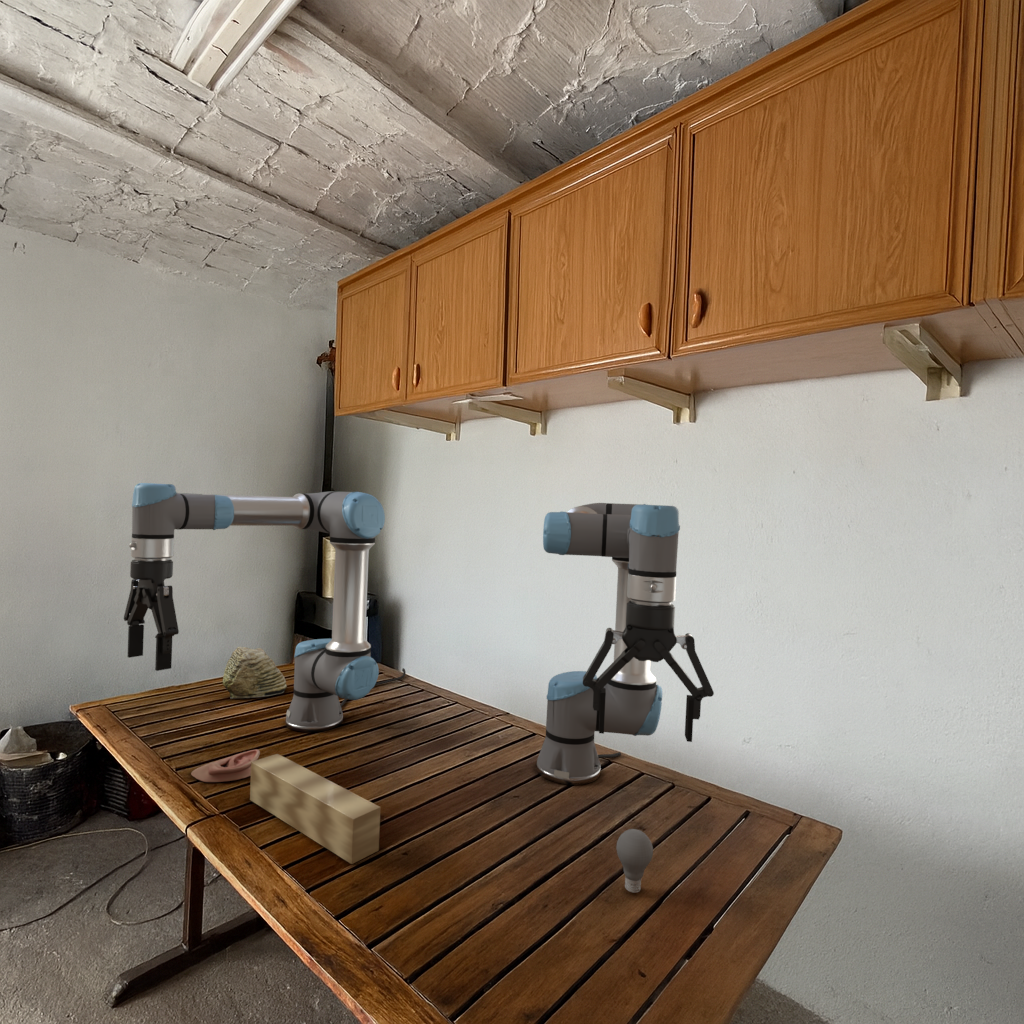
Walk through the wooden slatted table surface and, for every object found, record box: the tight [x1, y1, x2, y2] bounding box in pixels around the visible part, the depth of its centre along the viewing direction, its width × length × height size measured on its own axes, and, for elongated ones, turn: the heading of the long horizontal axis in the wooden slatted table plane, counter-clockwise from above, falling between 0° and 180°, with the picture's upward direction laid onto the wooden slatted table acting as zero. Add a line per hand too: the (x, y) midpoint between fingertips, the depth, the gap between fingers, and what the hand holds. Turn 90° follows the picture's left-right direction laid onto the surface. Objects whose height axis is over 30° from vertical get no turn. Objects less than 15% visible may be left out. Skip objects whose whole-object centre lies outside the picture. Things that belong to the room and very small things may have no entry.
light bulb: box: [615, 828, 654, 894], centre depth 106 cm, size 6×6×10 cm
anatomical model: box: [190, 748, 261, 783], centre depth 143 cm, size 13×4×12 cm
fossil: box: [222, 646, 288, 699], centre depth 198 cm, size 9×18×15 cm, turn 132°
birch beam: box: [249, 753, 381, 865], centre depth 123 cm, size 34×6×8 cm, turn 51°
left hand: (148, 662), depth 129 cm, fingers open, 13 cm apart
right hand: (644, 734), depth 101 cm, fingers open, 13 cm apart
